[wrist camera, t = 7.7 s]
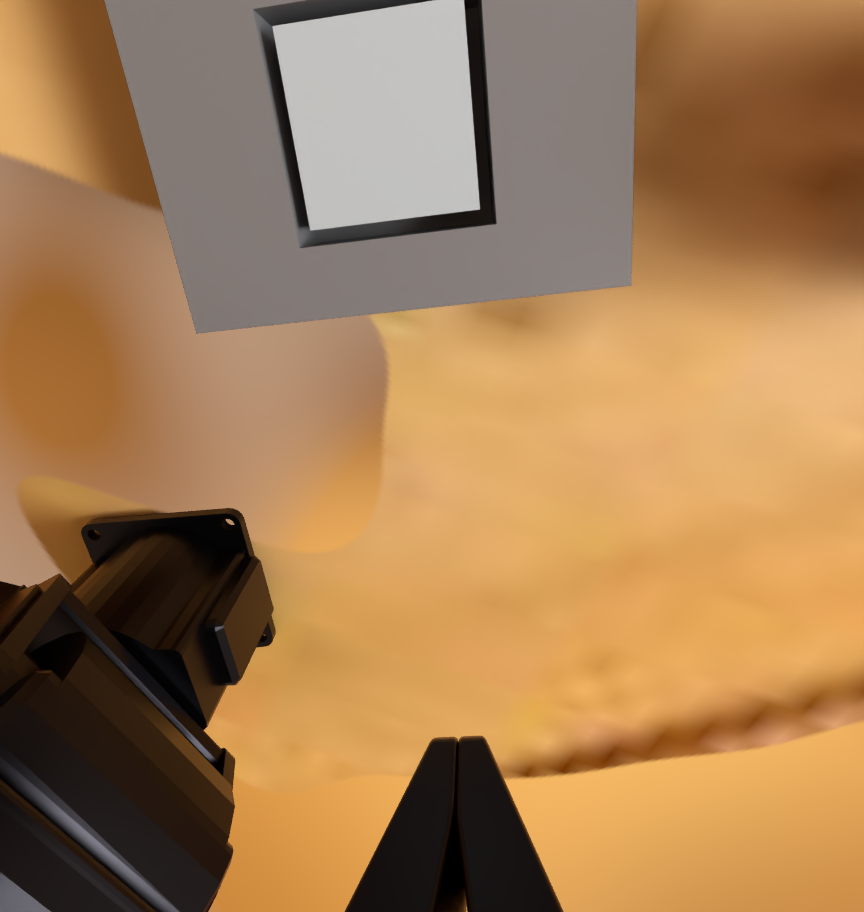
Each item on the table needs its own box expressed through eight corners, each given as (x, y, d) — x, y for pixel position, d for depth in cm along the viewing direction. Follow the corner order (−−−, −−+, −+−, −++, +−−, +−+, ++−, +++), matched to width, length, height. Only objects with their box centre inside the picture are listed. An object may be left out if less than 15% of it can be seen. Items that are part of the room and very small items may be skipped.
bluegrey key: (330, 227, 17) (310, 230, 15) (299, 51, 15) (272, 26, 13) (477, 208, 17) (479, 209, 15) (463, 25, 15) (463, -5, 13)
